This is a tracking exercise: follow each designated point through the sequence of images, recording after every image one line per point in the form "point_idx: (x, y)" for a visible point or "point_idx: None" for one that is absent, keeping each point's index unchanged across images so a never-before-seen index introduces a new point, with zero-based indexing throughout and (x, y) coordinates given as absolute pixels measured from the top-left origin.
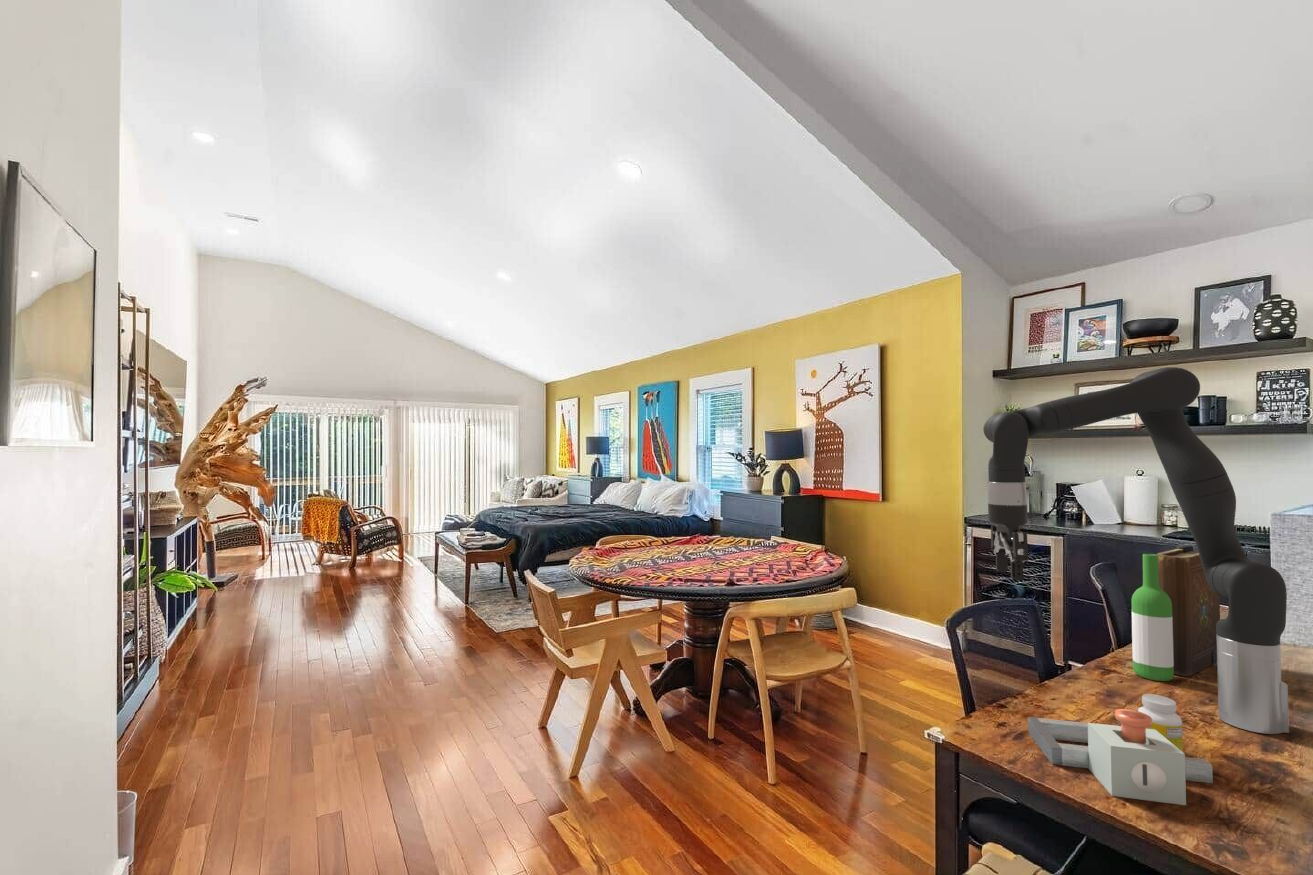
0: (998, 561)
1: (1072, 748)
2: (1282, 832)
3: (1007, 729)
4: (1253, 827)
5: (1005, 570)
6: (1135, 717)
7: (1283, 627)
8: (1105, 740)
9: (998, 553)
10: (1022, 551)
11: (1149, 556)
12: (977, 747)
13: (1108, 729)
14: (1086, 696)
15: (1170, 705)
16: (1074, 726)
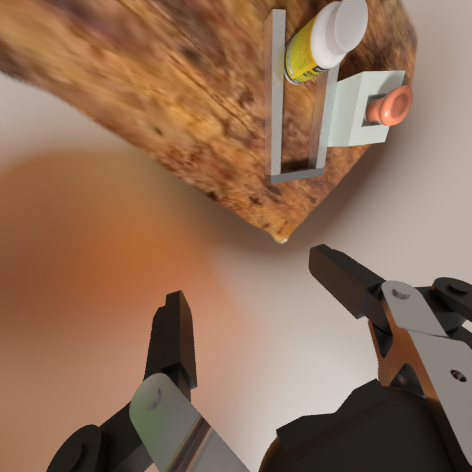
0: (192, 350)
1: (323, 158)
2: (393, 15)
3: (263, 197)
4: (385, 41)
5: (181, 297)
6: (403, 106)
7: None
8: (376, 142)
9: (190, 400)
10: (446, 335)
11: None
12: (297, 219)
13: (360, 130)
14: (115, 68)
15: (367, 16)
16: (280, 141)
